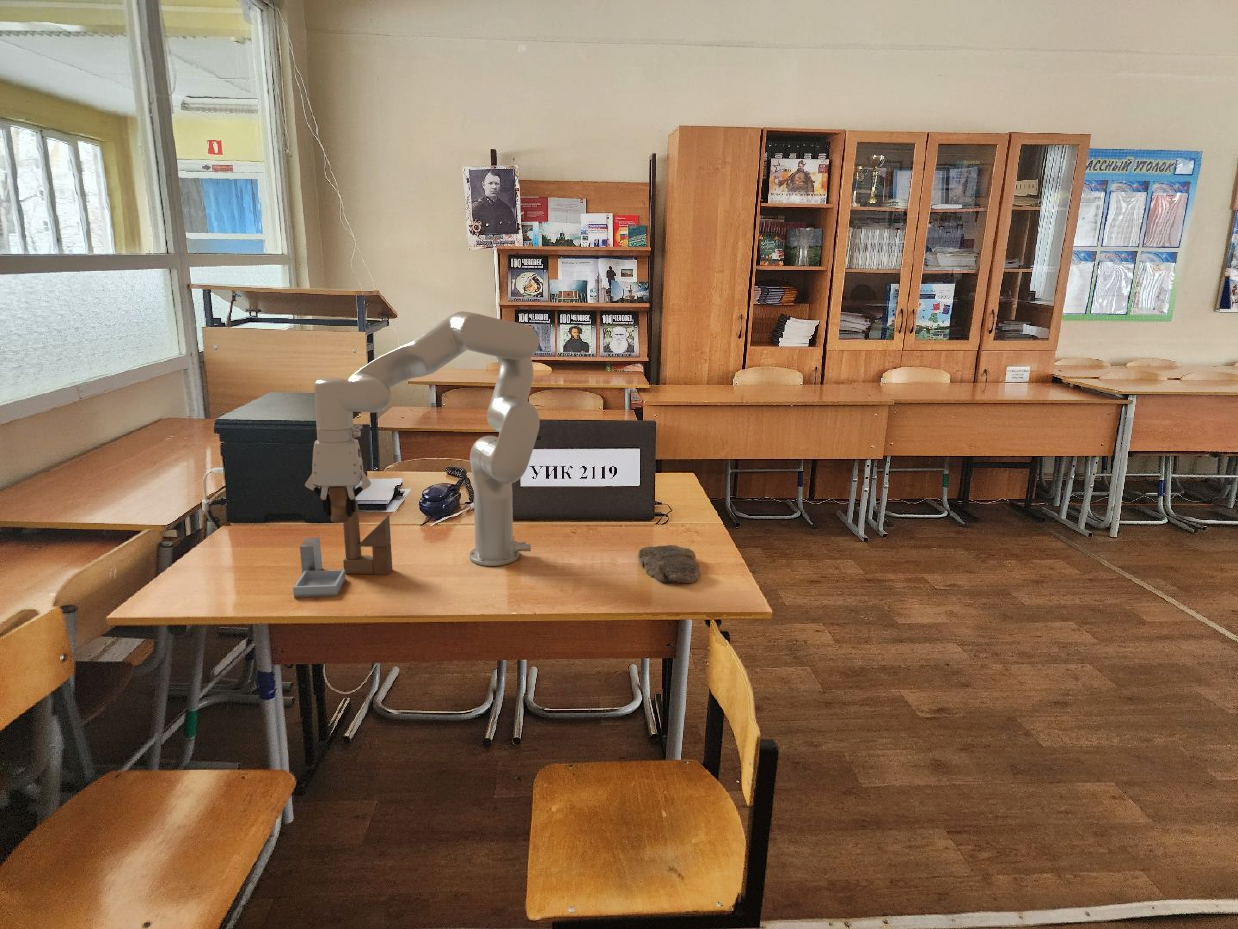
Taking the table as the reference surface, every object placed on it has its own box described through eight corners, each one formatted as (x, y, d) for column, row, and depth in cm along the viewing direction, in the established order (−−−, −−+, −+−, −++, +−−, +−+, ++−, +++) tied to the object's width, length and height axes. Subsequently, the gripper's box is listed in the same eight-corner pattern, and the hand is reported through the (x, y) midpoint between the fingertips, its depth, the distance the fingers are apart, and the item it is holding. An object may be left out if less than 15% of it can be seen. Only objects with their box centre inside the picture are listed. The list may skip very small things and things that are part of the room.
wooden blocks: (388, 575, 180) (383, 504, 175) (343, 574, 180) (338, 503, 175) (393, 569, 183) (388, 499, 178) (349, 568, 183) (344, 498, 179)
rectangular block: (322, 568, 183) (319, 537, 181) (316, 578, 177) (313, 546, 175) (309, 568, 182) (306, 537, 180) (302, 578, 177) (299, 546, 175)
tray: (345, 579, 177) (345, 569, 176) (336, 596, 168) (336, 586, 167) (305, 580, 175) (304, 570, 175) (293, 597, 167) (292, 587, 166)
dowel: (351, 516, 170) (349, 483, 168) (348, 522, 166) (346, 488, 164) (333, 517, 169) (331, 483, 167) (329, 522, 166) (327, 488, 164)
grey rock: (709, 588, 178) (689, 555, 197) (709, 569, 176) (690, 538, 195) (650, 592, 176) (637, 558, 195) (651, 573, 174) (637, 540, 193)
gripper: (378, 431, 168) (381, 509, 172) (299, 431, 165) (305, 510, 170) (372, 439, 161) (376, 520, 165) (290, 438, 158) (296, 520, 163)
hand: (340, 514), depth 167 cm, fingers closed on dowel, 4 cm apart
